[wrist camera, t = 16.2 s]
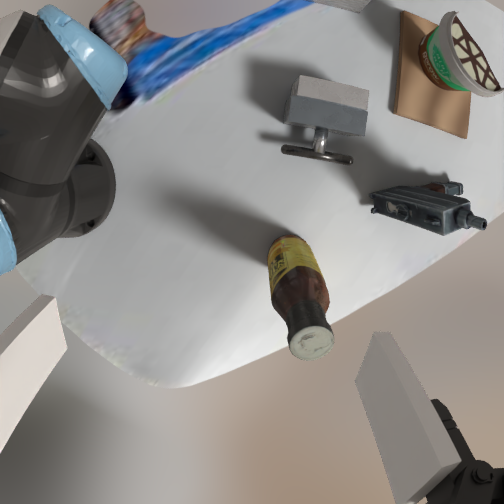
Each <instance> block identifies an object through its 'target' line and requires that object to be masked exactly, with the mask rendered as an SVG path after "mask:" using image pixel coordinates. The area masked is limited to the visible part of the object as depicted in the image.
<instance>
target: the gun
mask: <svg viewBox="0 0 504 504" xmlns="http://www.w3.org/2000/svg"><path fill="white" fill-rule="evenodd" d="M455 194H456V195H461V194H463V185H462V184H461V183H457V182H452V181H451V182H448V183H447V184H443V183H438V182H432V183H431V184H428V185H425V186H416V187H410V186H398V187H394V188H390V189H386V190H382V191H378V192H374V193H370V194H369V197H370V198H372V199H373V203H374V208H372V209H371V213H373V214H375V213H379V214H382V215H385V216H388V217H392V218H394V219H397V220H400V221H403V222H406V223H409V224H412V225H415V226H418V227H421V228H423V229H426V230H429V231H432V232H434V233H437V234H440V235H443V236H445V235H447V234H449V233H452V232H454V231H456V230H459V229H461V228H465V229H469V228H470V227H473V228H476V229H479V230H485V229H486V226H487V221H486V219H484V218H481V217H477V216H474V215H473V213H472V211H470V201H469V200H467V199H466V198H461V197H457V196H453V195H455Z"/></svg>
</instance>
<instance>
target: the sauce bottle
mask: <svg viewBox="0 0 504 504" xmlns="http://www.w3.org/2000/svg"><path fill="white" fill-rule="evenodd" d="M268 271H269V282H270V291H271V301H272V305H273V308H274V309H275V310H276V311H277V312H278V314H279V315H280V316H281V317H282V318H283V320H284V321H285V322H286V325H287V327H288V336H287V340H288V344H289V348H290V351H291V352H292V354H293V355H294V356H296V357H297V358H299V359H301V360H306V361H309V360H316V359H319V358H321V357H323V356H325V355H326V354H327V353H329V351H330V350H331V349H332V347H333V344H334V335H333V332H332V329H331V327H330V325H329V324H328V323H327V321H326V318H325V313H326V312H327V309H328V307H329V303H330V301H329V293H328V290H327V287H326V283H325V280H324V278H323V275H322V273H321V271H320V268H319V266H318V264H317V261H316V259H315V257H314V254H313V252H312V250H311V248H310V246H309V245H308V244H307V243H306V241H304V239H302V238H300V237H297V236H295V235H285V236H282V237H280V238H278V239H277V240H275V241H274V243H273V244H272V246H271V248H270V249H269V253H268Z"/></svg>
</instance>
